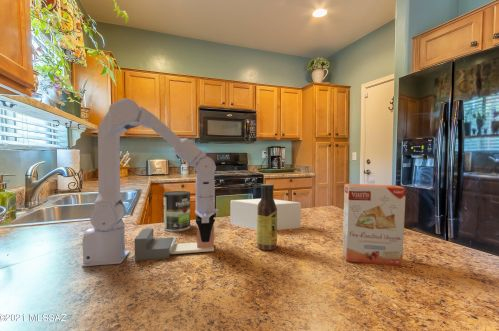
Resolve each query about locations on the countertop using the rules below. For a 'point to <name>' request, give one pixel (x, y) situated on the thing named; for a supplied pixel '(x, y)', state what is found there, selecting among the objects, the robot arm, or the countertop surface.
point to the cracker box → (374, 223)
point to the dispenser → (152, 246)
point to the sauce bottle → (267, 219)
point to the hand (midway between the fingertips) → (205, 239)
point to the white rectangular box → (247, 213)
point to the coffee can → (176, 211)
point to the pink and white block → (195, 245)
